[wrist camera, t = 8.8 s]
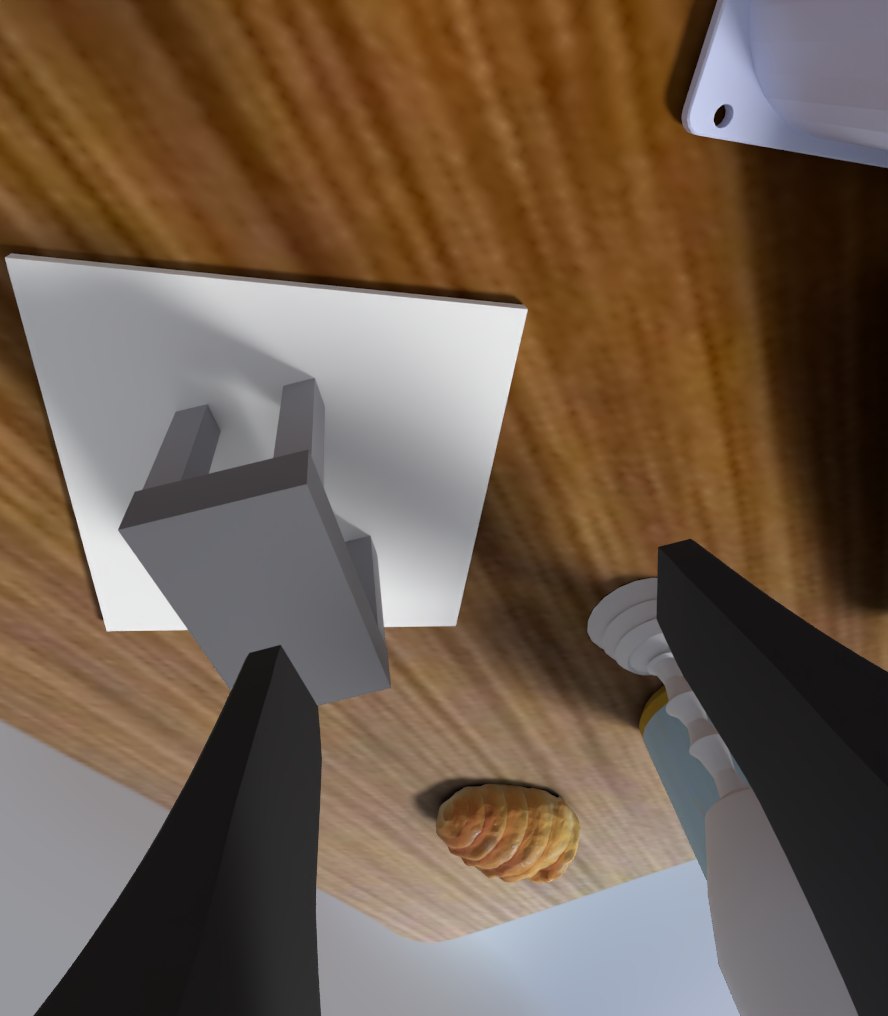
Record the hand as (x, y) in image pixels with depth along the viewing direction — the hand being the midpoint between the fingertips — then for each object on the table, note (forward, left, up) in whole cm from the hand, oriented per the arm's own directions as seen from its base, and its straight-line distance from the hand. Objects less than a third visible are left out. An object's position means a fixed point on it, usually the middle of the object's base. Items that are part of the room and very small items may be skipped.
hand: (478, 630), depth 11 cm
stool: (+4, +4, -10) cm, 12 cm away
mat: (+4, +4, -10) cm, 12 cm away
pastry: (-9, +29, -11) cm, 33 cm away
